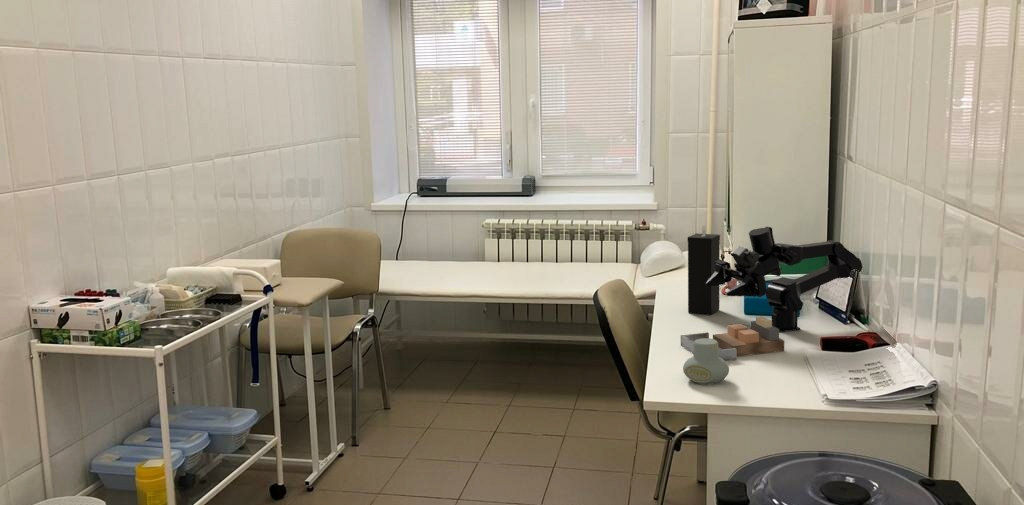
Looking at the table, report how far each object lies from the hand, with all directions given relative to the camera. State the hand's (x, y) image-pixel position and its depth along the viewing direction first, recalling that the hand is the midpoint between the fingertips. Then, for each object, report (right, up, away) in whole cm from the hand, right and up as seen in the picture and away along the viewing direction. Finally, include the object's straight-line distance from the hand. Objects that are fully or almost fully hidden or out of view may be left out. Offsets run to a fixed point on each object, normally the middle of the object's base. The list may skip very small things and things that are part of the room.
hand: (716, 289), depth 239 cm
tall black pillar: (+5, -9, +36) cm, 37 cm away
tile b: (+7, -13, -9) cm, 17 cm away
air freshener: (-10, -21, -30) cm, 38 cm away
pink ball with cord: (+15, -5, +57) cm, 60 cm away
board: (+7, -16, -5) cm, 18 cm away
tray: (-4, -17, -8) cm, 19 cm away
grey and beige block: (+12, -12, -5) cm, 18 cm away
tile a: (+5, -12, -3) cm, 14 cm away
